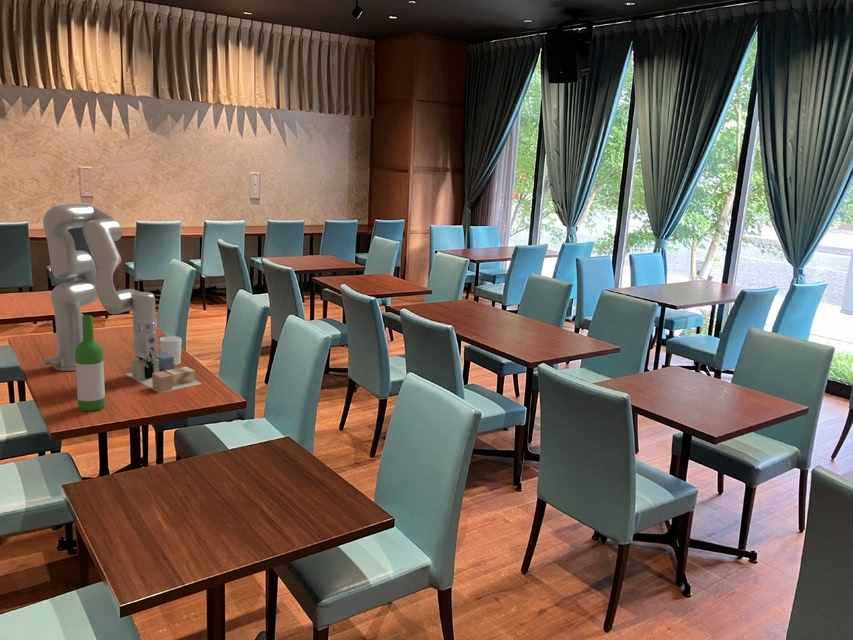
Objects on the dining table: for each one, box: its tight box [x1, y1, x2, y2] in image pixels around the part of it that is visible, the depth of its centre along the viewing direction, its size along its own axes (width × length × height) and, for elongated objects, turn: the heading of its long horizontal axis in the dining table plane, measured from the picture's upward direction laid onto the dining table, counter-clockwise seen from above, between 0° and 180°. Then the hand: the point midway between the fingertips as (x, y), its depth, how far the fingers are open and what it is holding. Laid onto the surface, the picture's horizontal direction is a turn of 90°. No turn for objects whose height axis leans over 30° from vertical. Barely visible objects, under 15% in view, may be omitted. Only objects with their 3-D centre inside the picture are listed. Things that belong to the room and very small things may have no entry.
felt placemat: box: [125, 372, 203, 394], centre depth 248 cm, size 16×26×1 cm, turn 48°
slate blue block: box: [156, 352, 175, 372], centre depth 256 cm, size 7×4×6 cm, turn 48°
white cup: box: [159, 335, 182, 366], centre depth 266 cm, size 8×8×10 cm
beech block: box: [166, 366, 196, 385], centre depth 246 cm, size 8×6×4 cm
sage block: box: [131, 359, 159, 381], centre depth 249 cm, size 8×4×6 cm, turn 138°
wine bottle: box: [75, 314, 106, 412], centre depth 214 cm, size 8×8×30 cm
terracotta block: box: [152, 371, 172, 391], centre depth 238 cm, size 4×6×5 cm, turn 48°
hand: (146, 375), depth 249 cm, fingers open, 4 cm apart
